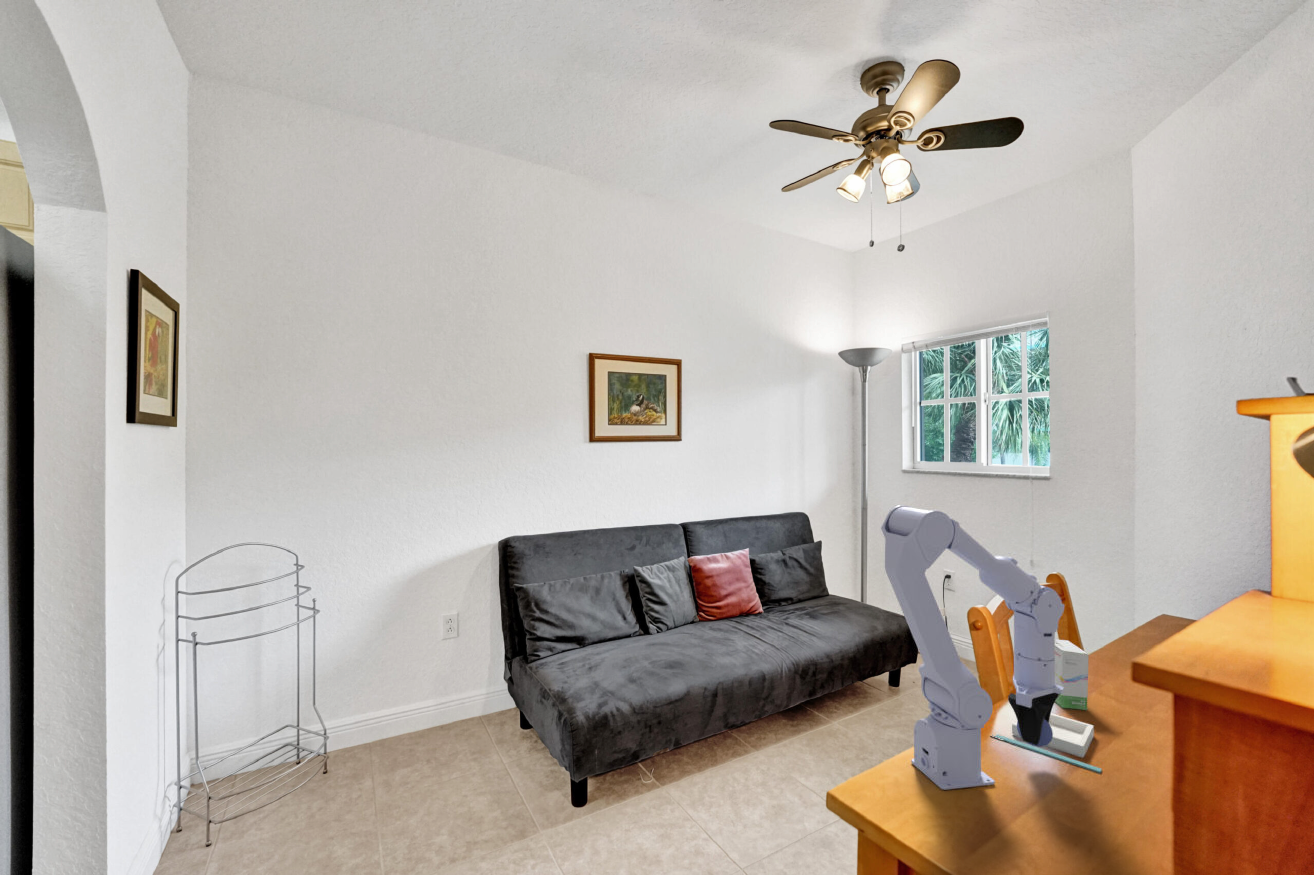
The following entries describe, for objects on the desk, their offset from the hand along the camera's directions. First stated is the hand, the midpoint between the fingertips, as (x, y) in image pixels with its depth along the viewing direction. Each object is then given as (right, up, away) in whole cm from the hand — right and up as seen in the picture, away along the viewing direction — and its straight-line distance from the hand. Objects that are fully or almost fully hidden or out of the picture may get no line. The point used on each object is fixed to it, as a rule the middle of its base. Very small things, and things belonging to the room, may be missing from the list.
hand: (1034, 736), depth 93 cm
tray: (+10, -5, +10) cm, 15 cm away
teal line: (+4, -5, +4) cm, 7 cm away
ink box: (+23, -6, +24) cm, 34 cm away
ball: (0, +1, 0) cm, 1 cm away
